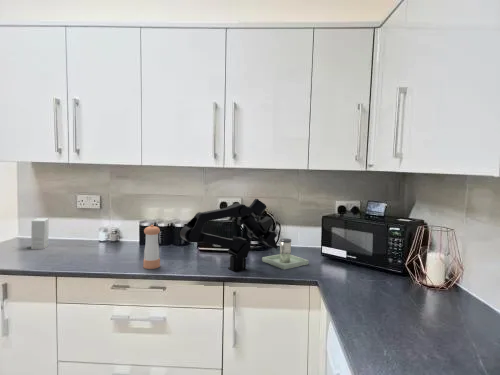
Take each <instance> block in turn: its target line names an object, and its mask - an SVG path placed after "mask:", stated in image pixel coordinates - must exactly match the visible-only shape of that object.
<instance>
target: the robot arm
mask: <svg viewBox="0 0 500 375" xmlns="http://www.w3.org/2000/svg"><path fill="white" fill-rule="evenodd" d="M267 208H268V207H267V205H266V203H264V202H263V201H261V200H260V199H258V198H255V199H254V200H253V201H252V202H251V203H250V205H249V206H247V205H245V204H244V203H238V202H237V203H236V202H235V203H233V204H230V205H228V206H226V207H224V208H218V209H214V210H213V209H212V210H209V211H208V210H207V211H202V212H200V211H198V212H197V213H195V215H194V216H193V217H192V218H191V219H190V220H189V221H188V222H187V223H186V224H185V226H183V227H182V228H181V230H180V232H179V236H180V238H181V239H183V241H186V242H188V243H190V244H194V243H195V244H199V243H206V244H210V245H215V246H220V247H224V248H228V250H227V252H228V255H230V256H229V266H228V267H227V269H228V270H230V271H232V272H234V273H237V272H238V273H239V272H244V271H247V270H248V268H247V259H246V258H247V257H248V256H249V255H248V254H249V252H250V250H251V247H252V246H251V243H250V241H248V240H247V239H246V238H243V237H241V236H235V235H232V238H227V237H223V236H219V235H214V234H211V233H206V232H202V230H203V227H204V225H205V223H206V222H210V221H216V220H221V219H226V218H237V222H236V224H237V225H238V226H243V225H244V227H245V228H246V230H247V233H246V235H247V236H248V238H250V239H252V240H254V241H257V242H258V243H262V245H266V246H270V247H271V248H274V249H276V250H277V249H278V245H277V241H276V238H277V236H278V234H277V232H275V231H273V230H268V228H269V227H271V226H272V225H274V221H273V219H272V217H269V216H263V215H262V214H263V213H264V212H265V210H266V209H267ZM256 218H258V220H257V219H256ZM267 230H268V231H267Z"/></svg>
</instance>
